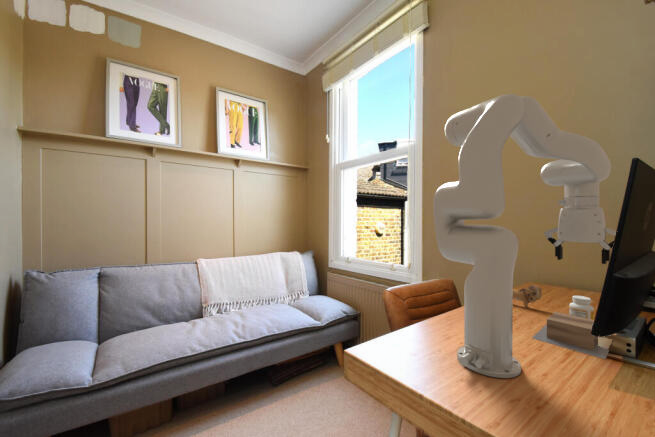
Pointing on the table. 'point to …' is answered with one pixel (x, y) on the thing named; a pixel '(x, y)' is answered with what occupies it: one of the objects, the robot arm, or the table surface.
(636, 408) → the table surface
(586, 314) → the supplement bottle
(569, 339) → the walnut block
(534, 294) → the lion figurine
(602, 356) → the base plate
